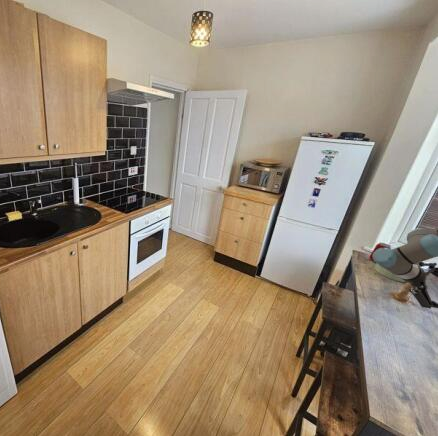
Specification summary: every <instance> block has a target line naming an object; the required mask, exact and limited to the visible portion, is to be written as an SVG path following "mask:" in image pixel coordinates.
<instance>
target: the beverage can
mask: <svg viewBox="0 0 438 436" xmlns="http://www.w3.org/2000/svg"><path fill="white" fill-rule="evenodd" d="M379 248H390V249H392V248H391V245H390V244H388V243H385V242H379V243H377V244H376V245H375V247H373V249H372V252H371V253H370V255H369V257H368V258H369V260H370V261H372V262H374V263H376V262H375V261H374V260H373V253H374V252H375V251H376V250H377V249H379Z"/></svg>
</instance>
